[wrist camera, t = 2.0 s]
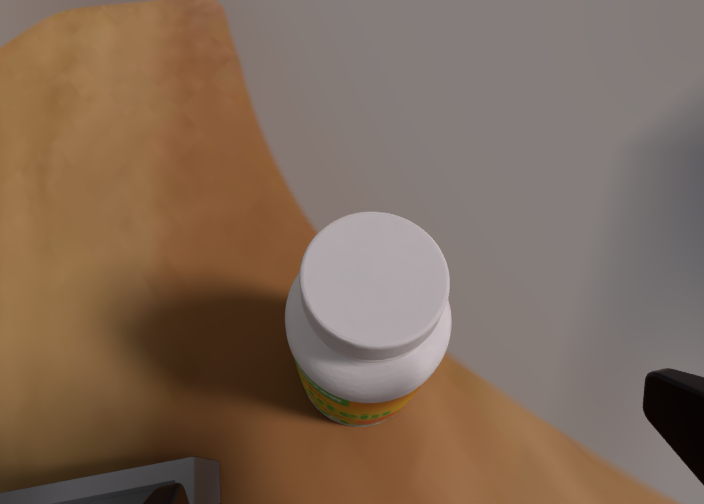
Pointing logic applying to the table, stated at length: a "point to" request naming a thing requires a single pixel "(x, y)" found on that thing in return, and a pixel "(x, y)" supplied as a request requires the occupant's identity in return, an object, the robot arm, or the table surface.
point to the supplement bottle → (368, 316)
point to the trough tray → (128, 485)
